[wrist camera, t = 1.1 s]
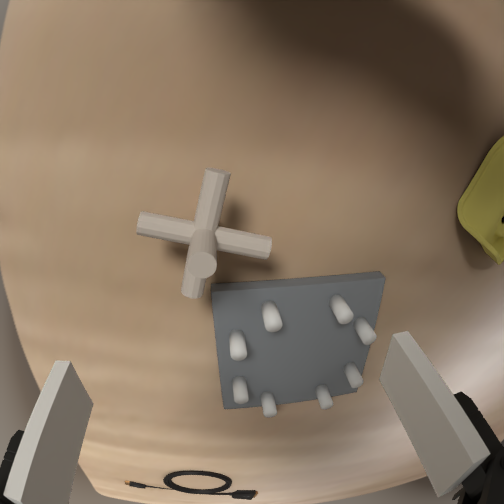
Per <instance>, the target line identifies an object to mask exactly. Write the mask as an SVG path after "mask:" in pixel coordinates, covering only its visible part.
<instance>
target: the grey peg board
mask: <svg viewBox="0 0 504 504" xmlns="http://www.w3.org/2000/svg"><path fill="white" fill-rule="evenodd" d="M384 283H385V277H384V276H383V274H382V273H381V272H380V271H378V272H367V273H356V274H344V275H332V276H320V277H307V278H294V279H280V280H266V281H251V282H235V283H218V284H211V297H212V308H213V318H214V328H215V338H216V347H217V356H218V365H219V373H220V382H221V390H222V398H223V406H224V409H236V408H249V407H260V406H262V408H263V414H264V416H265V417H274V416H275V415H276V414H277V410H276V405H278V404H287V403H294V402H301V401H308V400H315V399H318V401H319V404H320V407H321V409H329V408H331V407H332V406H333V401H332V399H331V397H333V396H338V395H343V394H348V393H353V392H357V389H358V387H360V386H361V385H362V384H363V379H362V377H361V376H362V372H363V369H364V366H365V362H366V359H367V355H368V351H369V348H370V344H372V343H373V342H374V341H375V340H376V334H375V333H374V328H375V324H376V320H377V316H378V311H379V307H380V302H381V298H382V293H383V288H384Z"/></svg>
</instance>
